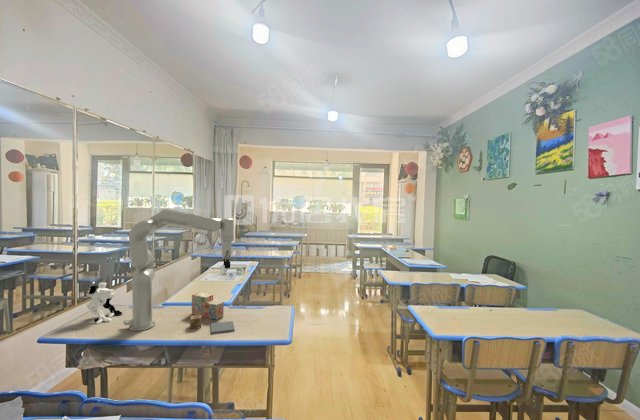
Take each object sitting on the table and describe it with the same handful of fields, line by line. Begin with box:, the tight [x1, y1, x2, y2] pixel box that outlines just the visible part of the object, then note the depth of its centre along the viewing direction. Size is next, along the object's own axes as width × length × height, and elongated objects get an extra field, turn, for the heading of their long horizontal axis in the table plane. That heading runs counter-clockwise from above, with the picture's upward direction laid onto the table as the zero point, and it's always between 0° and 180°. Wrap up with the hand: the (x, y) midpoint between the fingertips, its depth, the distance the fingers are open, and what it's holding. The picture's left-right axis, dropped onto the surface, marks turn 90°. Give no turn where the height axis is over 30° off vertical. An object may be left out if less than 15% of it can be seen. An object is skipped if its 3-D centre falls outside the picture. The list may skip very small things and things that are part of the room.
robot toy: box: [86, 282, 123, 325], centre depth 179 cm, size 19×14×20 cm
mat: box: [210, 320, 235, 335], centre depth 168 cm, size 12×12×1 cm
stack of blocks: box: [191, 291, 225, 321], centre depth 186 cm, size 21×6×12 cm, turn 62°
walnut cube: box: [189, 314, 202, 330], centre depth 169 cm, size 6×6×6 cm
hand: (226, 266), depth 183 cm, fingers open, 9 cm apart
